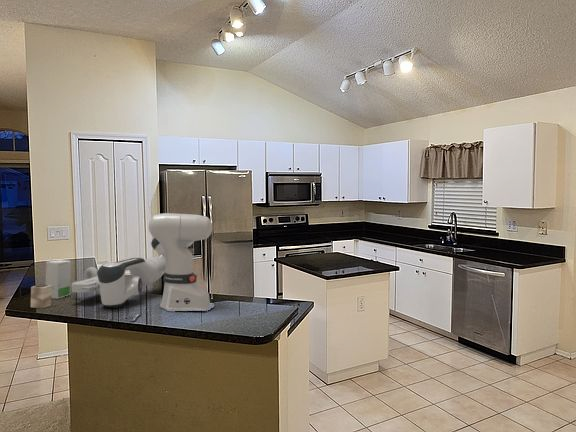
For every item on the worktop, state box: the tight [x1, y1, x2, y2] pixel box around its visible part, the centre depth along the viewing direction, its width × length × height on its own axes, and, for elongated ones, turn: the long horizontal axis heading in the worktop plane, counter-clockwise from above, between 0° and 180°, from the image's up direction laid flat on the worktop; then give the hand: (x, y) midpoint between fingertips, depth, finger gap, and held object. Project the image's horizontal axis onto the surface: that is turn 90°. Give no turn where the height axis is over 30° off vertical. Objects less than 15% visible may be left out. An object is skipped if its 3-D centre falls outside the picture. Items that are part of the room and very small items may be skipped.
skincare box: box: [45, 259, 72, 300], centre depth 183 cm, size 8×7×16 cm
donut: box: [83, 266, 98, 280], centre depth 204 cm, size 10×4×10 cm, turn 59°
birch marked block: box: [30, 284, 52, 309], centre depth 167 cm, size 5×5×8 cm
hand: (73, 283), depth 181 cm, fingers closed
